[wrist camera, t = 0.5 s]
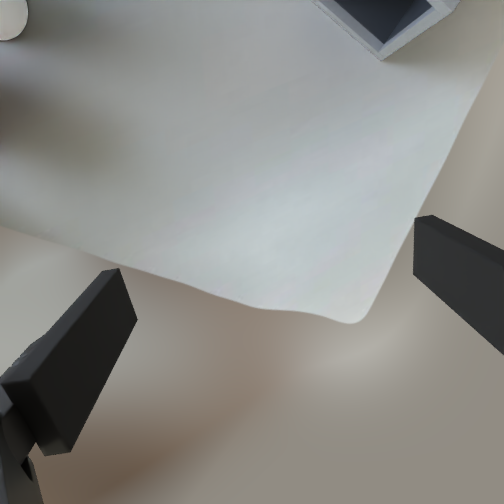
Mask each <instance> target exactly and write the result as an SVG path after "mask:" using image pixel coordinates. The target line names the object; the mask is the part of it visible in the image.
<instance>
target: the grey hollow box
mask: <svg viewBox="0 0 504 504" xmlns="http://www.w3.org/2000/svg"><path fill="white" fill-rule="evenodd" d="M311 1H312V2H313V3H314V4H316V5H317V6H318V7H319V8H320V9H321V10H322V11H324V12H325V13H326V14H327V15H328V16H329V17H331V18H332V19H333V20H334V21H335V22H336V23H337V24H339V25H340V26H341V27H342V28H343V29H344V30H345V31H347V32H348V33H349V34H350V35H351V36H352V37H354V38H355V39H356V40H357V41H358V42H359V43H360V44H362V45H363V46H364V47H365V48H366V49H367V50H369V51H370V52H371V53H372V54H373V55H374V56H375V57H377V58H378V59H379V60H380V61H382V60H383V59H385V58H386V57H388V56H389V55H391V54H392V53H394V52H395V51H397V50H398V49H399V48H401V47H402V46H404V45H405V44H407V43H408V42H410V41H411V40H413V39H414V38H415V37H417V36H418V35H420V34H421V33H423V32H424V31H426V30H427V29H429V28H430V27H431V26H433V25H434V24H436V23H437V22H439V21H440V20H442V19H443V18H444V17H446V16H448V15H449V14H450V13H452V12H453V11H454V10H455V8H456V7H457V5H458V4H459V3H460V1H461V0H311Z"/></svg>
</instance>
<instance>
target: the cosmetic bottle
mask: <svg viewBox="0 0 504 504" xmlns="http://www.w3.org/2000/svg"><path fill="white" fill-rule="evenodd" d="M27 18H28V7H27V2H26V0H0V40H9V39H12V38H15V37H16V36H18V35H19V34H20V33H21V32H22V31H23V29H24V28H25V25H26V23H27Z"/></svg>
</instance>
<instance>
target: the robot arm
mask: <svg viewBox="0 0 504 504" xmlns="http://www.w3.org/2000/svg"><path fill="white" fill-rule="evenodd" d="M413 275H414V276H416V277H417V278H418V279H419V280H420V281H421V282H422V283H423V284H425V285H426V286H427V287H428V288H429V289H430V290H431V291H432V292H433V293H435V294H436V295H437V296H438V297H439V298H440V299H441V300H442V301H444V302H445V303H446V304H447V305H448V306H449V307H450V308H451V309H453V310H454V311H455V312H456V313H457V314H458V315H459V316H461V317H462V318H463V319H464V320H465V321H466V322H467V323H468V324H469V325H470V326H472V327H473V328H474V329H475V330H476V331H477V332H478V333H479V334H480V335H482V336H483V337H484V338H485V339H486V340H487V341H488V342H489V343H491V344H492V345H493V346H494V347H495V348H496V349H497V350H498V351H500V352H501V353H502V354H503V355H504V250H502V249H500V248H498V247H496V246H494V245H491V244H490V243H488V242H486V241H484V240H482V239H480V238H478V237H476V236H474V235H472V234H470V233H468V232H466V231H464V230H462V229H460V228H458V227H456V226H454V225H452V224H450V223H448V222H446V221H444V220H442V219H439V218H438V217H436V216H434V215H429V216H423V217H417V218H415V222H414V261H413ZM137 320H138V319H137V316H136V314H135V311H134V308H133V305H132V303H131V300H130V298H129V294H128V292H127V289H126V286H125V283H124V280H123V278H122V275H121V272H120V269H119V268H117V269H111V270H105V271H102V272H101V273H100V274H99V275H98V277H97V278H96V279H95V280H94V281H93V282H92V283H91V284H90V285H89V286H88V287H87V289H86V290H85V291H84V292H83V293H82V294H81V295H80V296H79V297H78V299H77V300H76V301H75V302H74V303H73V304H72V305H71V306H70V307H69V308H68V310H67V311H66V312H65V313H64V314H63V315H62V317H60V319H59V320H58V321H57V322H56V323H55V324H54V325H53V326H52V328H50V330H49V331H48V332H47V333H46V334H45V335H43V336H42V337H41V338H39V339H38V340H36V341H35V342H33V343H32V344H31V345H30V346H29V347H28V348H27V349H26V350H25V351H24V352H23V353H22V354H21V355H20V358H18V359H17V360H16V361H15V362H14V363H13V364H12V367H9V368H8V369H7V370H6V371H5V372H4V374H3V375H2V376H1V377H0V504H44V503H43V499H42V495H41V492H40V488H39V484H38V480H37V476H36V473H35V469H34V465H33V463H32V461H31V459H30V458H29V456H28V454H29V452H30V450H31V449H32V447H33V446H34V444H35V442H36V443H37V445H38V446H39V448H40V449H41V451H42V453H43V454H44V456H49V455H56V454H62V453H68V452H71V450H72V448H73V446H74V444H75V442H76V440H77V438H78V436H79V434H80V432H81V430H82V428H83V426H84V424H85V423H86V420H87V419H88V416H89V414H90V412H91V410H92V409H93V407H94V405H95V403H96V401H97V399H98V397H99V395H100V393H101V391H102V389H103V387H104V385H105V383H106V381H107V379H108V377H109V375H110V373H111V371H112V369H113V367H114V365H115V363H116V361H117V359H118V357H119V356H120V353H121V351H122V349H123V348H124V346H125V344H126V342H127V340H128V338H129V336H130V334H131V332H132V330H133V328H134V326H135V324H136V322H137Z"/></svg>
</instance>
